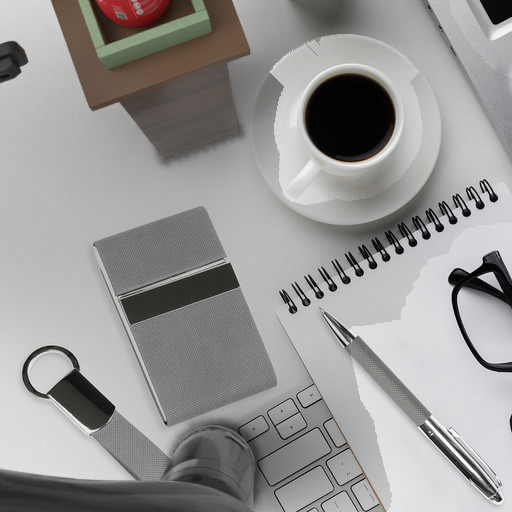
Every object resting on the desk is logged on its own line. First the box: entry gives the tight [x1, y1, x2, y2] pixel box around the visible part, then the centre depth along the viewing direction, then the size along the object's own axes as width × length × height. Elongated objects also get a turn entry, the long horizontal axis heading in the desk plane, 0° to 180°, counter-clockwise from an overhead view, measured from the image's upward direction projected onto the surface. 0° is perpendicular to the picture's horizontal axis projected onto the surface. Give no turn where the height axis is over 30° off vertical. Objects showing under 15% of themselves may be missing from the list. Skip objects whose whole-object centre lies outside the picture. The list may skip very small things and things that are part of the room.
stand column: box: [118, 63, 239, 160], centre depth 63 cm, size 9×9×29 cm
